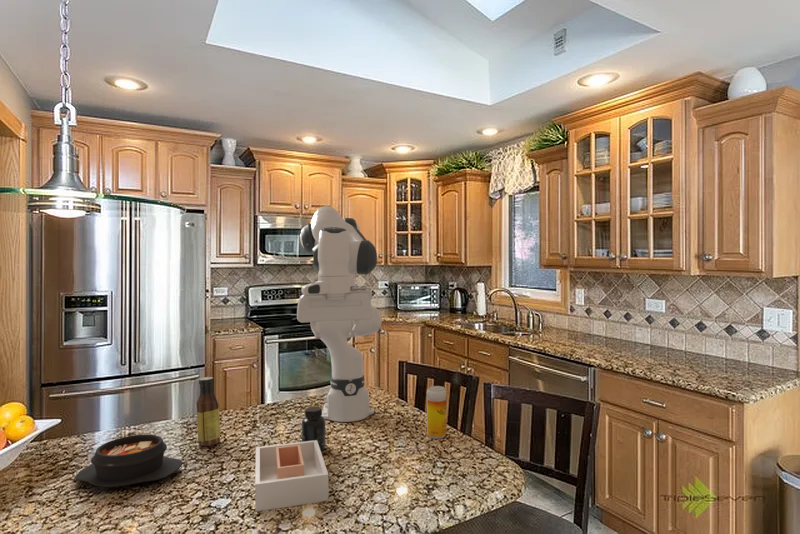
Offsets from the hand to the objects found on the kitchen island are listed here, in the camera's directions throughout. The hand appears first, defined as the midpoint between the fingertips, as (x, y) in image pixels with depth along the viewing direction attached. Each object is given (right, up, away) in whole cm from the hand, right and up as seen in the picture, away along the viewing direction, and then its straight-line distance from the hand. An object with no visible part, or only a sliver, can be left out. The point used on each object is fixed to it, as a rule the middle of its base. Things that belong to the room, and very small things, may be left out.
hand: (335, 337), depth 128 cm
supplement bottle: (-8, -34, +9) cm, 36 cm away
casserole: (-52, -35, -7) cm, 63 cm away
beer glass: (+29, -34, +19) cm, 49 cm away
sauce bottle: (-41, -35, +15) cm, 56 cm away
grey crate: (-10, -34, -12) cm, 38 cm away
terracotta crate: (-10, -33, -12) cm, 37 cm away
